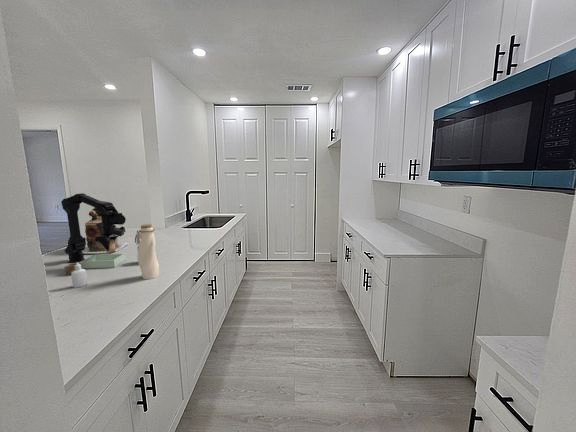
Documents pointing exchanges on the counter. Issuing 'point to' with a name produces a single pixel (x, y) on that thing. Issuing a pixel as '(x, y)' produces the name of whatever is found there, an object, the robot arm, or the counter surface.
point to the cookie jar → (93, 231)
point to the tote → (103, 261)
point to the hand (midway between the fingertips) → (110, 249)
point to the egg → (111, 247)
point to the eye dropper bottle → (79, 276)
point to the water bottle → (147, 252)
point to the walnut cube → (70, 268)
